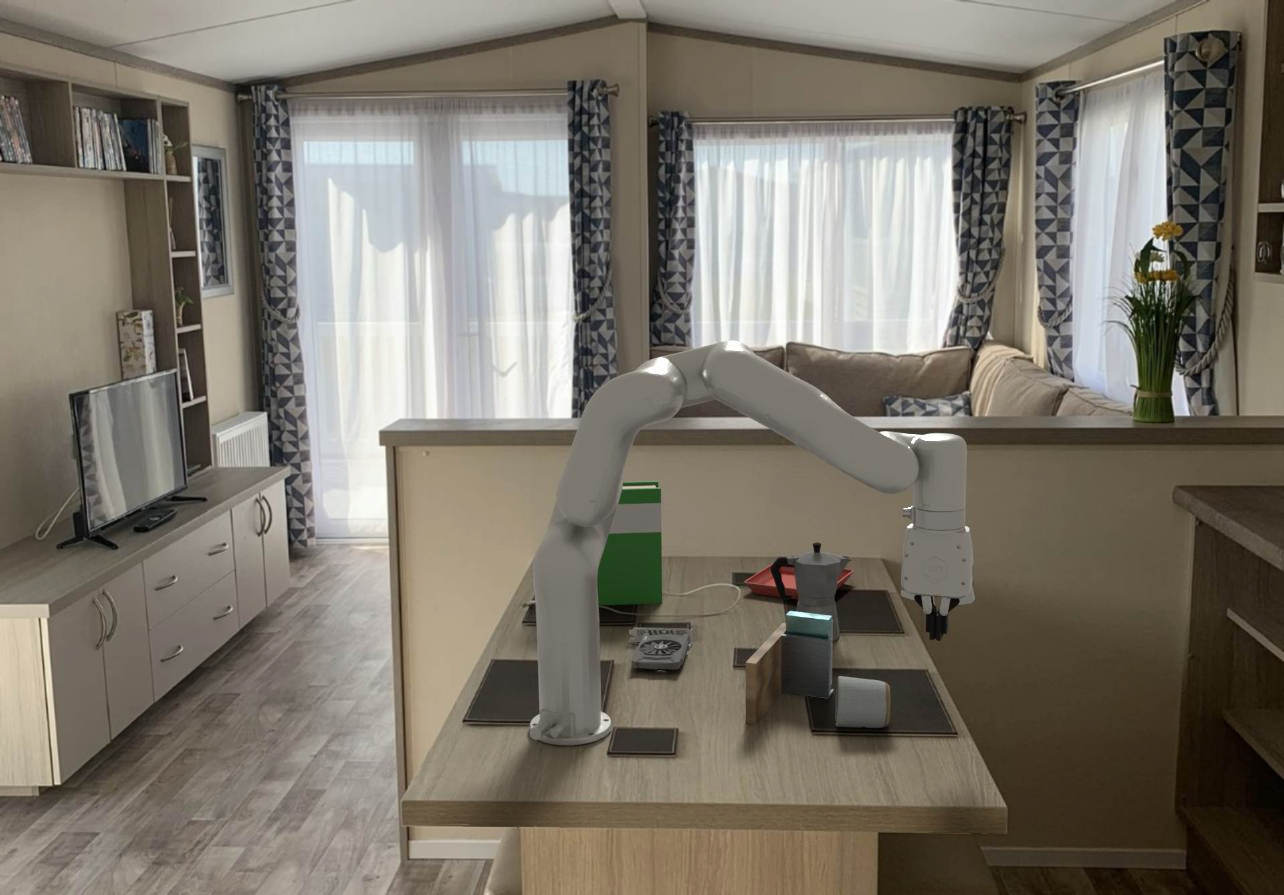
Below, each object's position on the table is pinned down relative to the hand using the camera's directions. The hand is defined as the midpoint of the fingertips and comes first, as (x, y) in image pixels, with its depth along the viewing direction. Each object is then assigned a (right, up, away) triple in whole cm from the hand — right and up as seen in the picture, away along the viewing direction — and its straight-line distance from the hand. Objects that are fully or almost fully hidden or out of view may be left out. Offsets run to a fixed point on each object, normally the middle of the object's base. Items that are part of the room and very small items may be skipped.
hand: (936, 637), depth 185 cm
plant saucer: (-11, -2, +77) cm, 78 cm away
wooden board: (-23, -13, +17) cm, 31 cm away
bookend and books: (-16, -12, +21) cm, 29 cm away
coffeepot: (-12, -7, +48) cm, 50 cm away
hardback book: (-49, -3, +71) cm, 87 cm away
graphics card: (-41, -10, +37) cm, 57 cm away
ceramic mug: (-10, -15, +8) cm, 20 cm away
